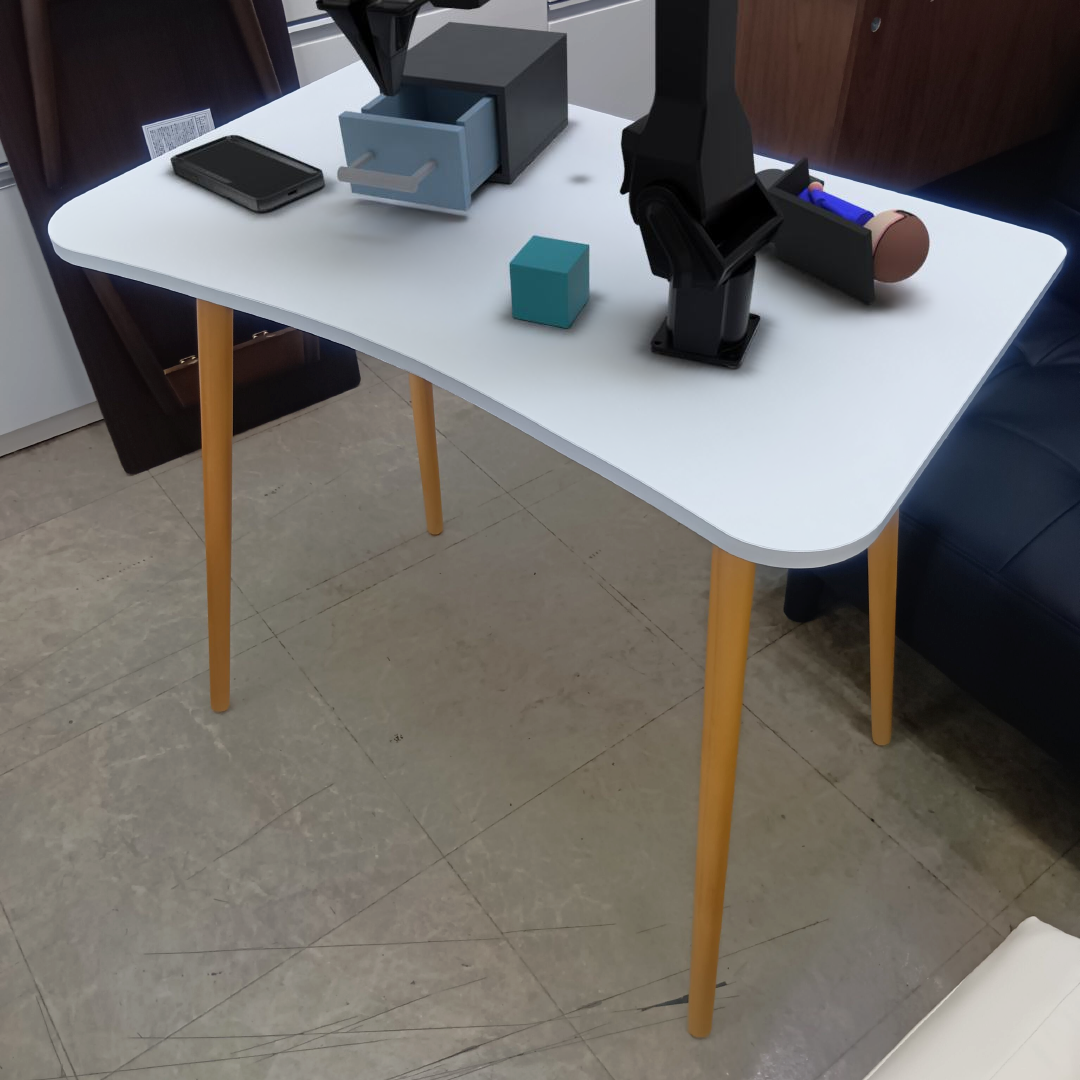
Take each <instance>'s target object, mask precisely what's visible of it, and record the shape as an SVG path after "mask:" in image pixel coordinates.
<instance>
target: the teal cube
mask: <svg viewBox="0 0 1080 1080" xmlns="http://www.w3.org/2000/svg"><path fill="white" fill-rule="evenodd" d="M508 266H509V284H510V298H511V314H512V318H513V319H517V320H522V321H528V322H533V323H539V324H543V325H548V326H553V327H559V328H565V329H569V328H570V326H571V325H572V324H573V323H574V321H575V320H576V319H577V317H578V315H579V314H580V312H581V311H582V309H583V308H584V307H585V305H586V304H587V303H588V301H589V300H590V244H587V243H582V242H576V241H570V240H564V239H558V238H552V237H546V236H540V235H532V236H531V237H530V239H529V240H528V241H527V242H526V244H524V246H522V248H521V249H520V250H519V251H518V253H517V254H516V255H515V256H514V257H513V258H512V259H511V261H509V264H508Z"/></svg>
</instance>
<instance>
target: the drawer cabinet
mask: <svg viewBox="0 0 1080 1080" xmlns="http://www.w3.org/2000/svg"><path fill="white" fill-rule="evenodd" d="M568 77H569V76H568V33H567V32H558V31H548V30H538V29H527V28H517V27H506V26H497V25H486V24H476V23H465V22H456V21H455V22H454V21H449V22H447V23H445V24H444V25H442V26H441V27H439V28H438V29H436V30H435V31H434V32H432V33H430V34H429V35H428V36H426V37H425V38H423V39H422V40H421V41H419V42H417V44H415V45H413V46H412V47H410V48H408V50H407V55H406V60H405V66H404V71H403V76H402V81H401V84H408V85H416V86H425V87H433V88H441V89H450V90H458V91H466V92H475V93H483V94H491V95H497V102H498V118H499V133H500V149H501V165H500V166H499V167H498V168H497V169H496V170H495V171H494V172H493V173H492V174H491V175H490V176H489V177H488V178H487V179H486V180H485V181H489V182H494V183H502V184H509V185H510V184H512V183H513V181H514V180H516V178H518V177H519V175H520V174H521V173H523V171H524V170H525V169H526V168H527V167H528V166H529V165H530V164H531V163H533V161H534V160H535V159H536V158H537V157H538V156H539V155H540V154H541V153H542V152H543V151H544V150H545V149H546V148H547V147H548V146H549V145H550V144H551V142H553V140H554V139H555V138H556V137H557V136H558V135H560V133H561V132H562V131H563V130H564V129H565V128H566V127H567V126H568V125H569V91H568V89H569V86H568V85H569V84H568V83H569V79H568ZM378 90H379V95H380V94H381V93H382V91H381V90H380V88H379V87H378Z"/></svg>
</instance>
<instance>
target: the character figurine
mask: <svg viewBox="0 0 1080 1080" xmlns="http://www.w3.org/2000/svg"><path fill="white" fill-rule="evenodd" d="M808 159H809V158H808V157H807V156H803V157H802V158H801V159H800V160H799V161H798V162H796V163H795V164H794V165H793V166H792V167H790V168H789V169H788V168H787V169H784V170H783V169H779V168H766V169H763V170H759V171H758V172H755V173H756V175H757V176H758V178H759V179H760V181H761V182H762V184H763V185H764V187H765V188H766V190H767V191H768V193H769V194H770V196H771V197H772V199H773V200H774V202H775V203H776V205H777V206H778V208H779V209H780V211H781V212H782V214H783V215H784V221H783V223H782V225H781V227H780V229H779V230H778V232H777V234H776V236H775V238H774V239H773V241H772V242H770V243H769V244H768V245H774V248H775V249H774V250H775V256H776V259H777V260H779V261H781V262H783V263H786V264H788V265H789V266H791V267H793V268H795V269H797V270H799V271H801V272H803V273H805V274H807V275H809V276H810V277H813V278H815V279H816V280H819V281H821V282H823V283H824V284H826V285H829V286H830V287H832V288H835V289H837V290H838V291H840V292H842V293H844V294H846V295H848V296H850V297H852V298H854V299H856V300H858V301H860V302H862V303H864V304H866V305H868V306H870V305H872V304H873V303H874V302H875V300H876V294H875V293H876V292H875V281H877V282H880V283H883V284H894V283H895V284H896V283H899V282H903V281H906V280H907V279H909V278H911V277H912V276H914V275H915V274H916V273H918V271H920V269H921V268H922V267H923V265H924V264H925V262H926V260H927V257H928V255H929V252H930V243H931V242H930V241H931V240H930V234H929V231H928V228H927V226H926V225H925V223H924V222H923V221H922V219H921V218H920V217H919V216H917V215H915V214H914V213H912V212H910V211H908V210H904V209H889V210H885V211H882V212H879V213H877V214H876V215H875V214H874V213H873V212H872V211H870V210H868V209H865V208H863V207H861V206H858V205H856V204H854V203H851V202H849V201H847V200H845V199H842V198H840V197H837V196H835V195H833V194H831V193H828V192H826V191H824V187H825V181H824V180H822V179H820V178H819V177H818V178H817V177H816V176H813V175H810V168H809V160H808Z"/></svg>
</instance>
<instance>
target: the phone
mask: <svg viewBox="0 0 1080 1080" xmlns="http://www.w3.org/2000/svg"><path fill="white" fill-rule="evenodd" d="M170 164H171V167H172V169H173V172H174V174H175V175H176V174H177V175H178V176H180V177H183V178H185V179H187V180H189V181H191V182H193V183H195V184H197V185H200V186H202V187H204V188H206V189H208V190H210V191H212V192H214V193H216V194H218V195H221V196H223V197H224V198H227V199H229V200H231V201H233V202H235V203H236V204H237V203H238V204H240V205H242V206H243V207H246V208H248V209H250V210H252V211H255V212H268V211H271V210H274V209H276V208H279V207H281V206H283V205H285V204H287V203H289V202H292V201H294V200H296V199H299V198H301V197H303V196H305V195H307V194H310V193H312V192H315V191H316V190H319V189H322V188H323V187H324V186H325V183H326V182H325V177H324V173H323V170H322V168H318V167H316V166H313V165H312V164H309V163H306V162H304V161H302V160H300V159H297V158H295V157H293V156H289V155H288V154H285V153H283V152H280V151H278V150H275V149H273V148H270V147H268V146H266V145H263V144H261V143H258V142H256V141H253V140H251V139H249V138H246V137H244V136H242V135H238V134H229V135H223V136H222V137H218V138H217V139H214V140H211V141H208V142H206V143H203V144H201V145H198V146H195V147H193V148H191V149H188V150H185V151H182V152H180V153H177V154H175V155H173V156H171V158H170Z"/></svg>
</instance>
